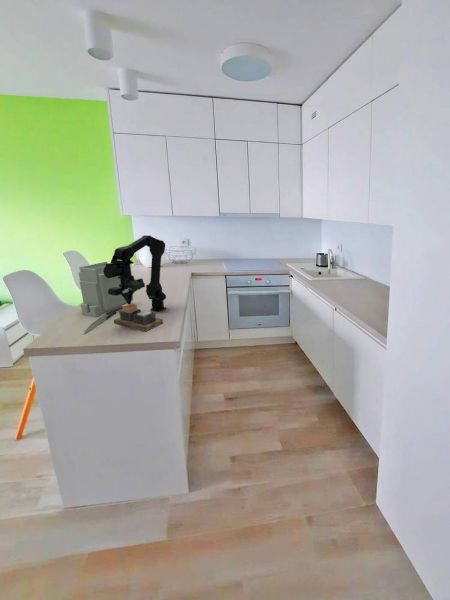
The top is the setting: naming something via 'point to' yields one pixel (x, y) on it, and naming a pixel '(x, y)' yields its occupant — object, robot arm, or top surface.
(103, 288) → the toaster
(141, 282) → the robot arm
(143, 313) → the grey button
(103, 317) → the kitchen knife
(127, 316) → the button board
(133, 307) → the terracotta button
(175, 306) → the top surface
